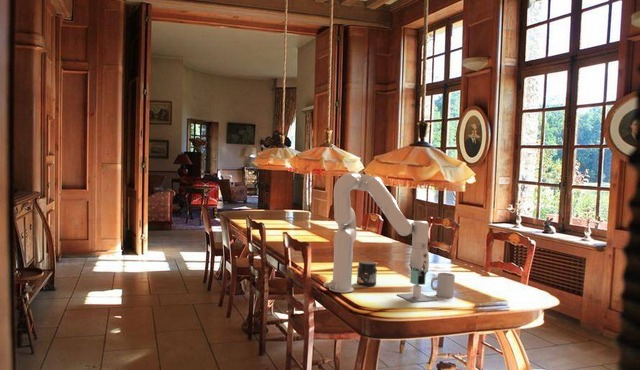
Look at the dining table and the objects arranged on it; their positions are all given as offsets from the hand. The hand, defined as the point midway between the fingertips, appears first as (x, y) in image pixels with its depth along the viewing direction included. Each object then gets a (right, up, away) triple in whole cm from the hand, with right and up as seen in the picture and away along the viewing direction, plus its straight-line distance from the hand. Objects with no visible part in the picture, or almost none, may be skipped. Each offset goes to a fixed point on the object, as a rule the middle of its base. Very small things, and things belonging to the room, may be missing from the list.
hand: (417, 282), depth 264 cm
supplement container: (-23, -6, +24) cm, 34 cm away
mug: (+14, -9, +8) cm, 18 cm away
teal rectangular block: (0, -1, 0) cm, 1 cm away
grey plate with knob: (0, -8, 0) cm, 8 cm away
